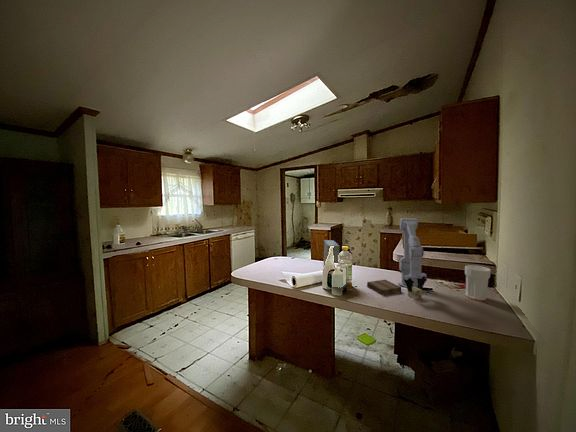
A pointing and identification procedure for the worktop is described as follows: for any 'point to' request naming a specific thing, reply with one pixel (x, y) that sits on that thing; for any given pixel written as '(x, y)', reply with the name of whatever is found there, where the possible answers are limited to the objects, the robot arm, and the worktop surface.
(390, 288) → the walnut base
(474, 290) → the cup
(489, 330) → the worktop surface
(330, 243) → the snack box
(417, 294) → the birch cube
